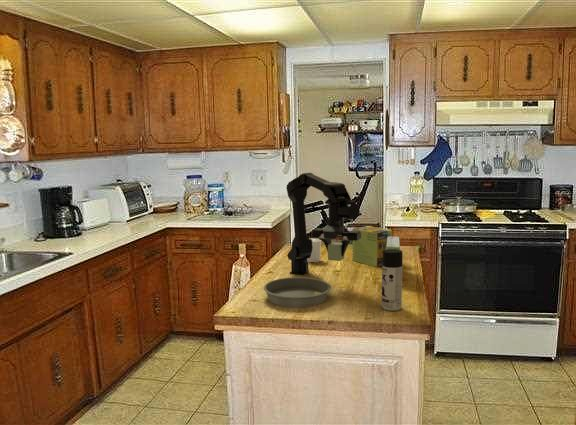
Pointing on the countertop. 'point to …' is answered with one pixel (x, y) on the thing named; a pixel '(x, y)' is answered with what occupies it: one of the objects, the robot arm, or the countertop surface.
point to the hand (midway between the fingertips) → (336, 255)
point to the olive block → (335, 251)
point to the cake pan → (297, 291)
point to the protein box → (370, 245)
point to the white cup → (315, 251)
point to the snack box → (393, 243)
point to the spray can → (392, 279)
